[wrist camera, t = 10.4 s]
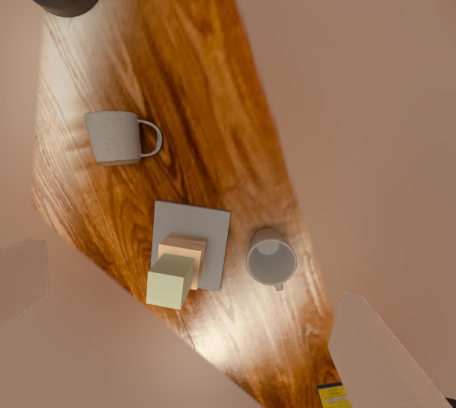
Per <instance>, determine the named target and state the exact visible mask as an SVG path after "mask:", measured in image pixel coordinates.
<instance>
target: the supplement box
mask: <svg viewBox="0 0 456 408" xmlns="http://www.w3.org/2000/svg"><path fill="white" fill-rule="evenodd" d="M317 388H318V392H319V395H320V399H321V402H322V406H323V408H352V406H351V403H350V401H349V398H348V396H347V393H346V391H345V389H344V386H343V384H342V382H338V383H332V384H326V385H320V386H317Z"/></svg>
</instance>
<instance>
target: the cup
mask: <svg viewBox="0 0 456 408" xmlns="http://www.w3.org/2000/svg"><path fill="white" fill-rule="evenodd" d="M246 265H247V269H248V272H249V274H250V275H251V276H252V277H253V278H254V279H255V280H256V281H258V282H259V283H262V284H264V285H271V286H274V287H276V290H277V291H281V290H283V286H282V284H283V283H284V282H286V281H287V280H289V279H290V278H291V277H292V275H293V274H294V272H295V270H296V267H297V258H296V255H295V252H294V250H293V249H292V248H291V247H290V245H289V244H288V243H287V242H286V240H285V239H284V238H283V237H282V236H281V235H280V234H279V233H278V232H277V231H276V230H273V229H270V228H265V229H261V230H259V231H258V232H256V234H255V235H254V236H253V239H252V241H251V244H250V247H249V250H248V254H247V259H246Z"/></svg>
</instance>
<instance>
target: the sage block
mask: <svg viewBox="0 0 456 408" xmlns="http://www.w3.org/2000/svg"><path fill="white" fill-rule="evenodd" d="M193 266H194V258H190V257H184V256H178V255H172V254H166V253H164V254H163V255H162V256H161V258H160V259H159V260H158V261H157V262H156V263H155V264H154V265H153V267H152V268H151V269H150V270H149V271H148V282H147V298H146V303H147V304H152V305H158V306H163V307H169V308H174V309H179V310H181V308H182V305H183V303H184V301H185V299H186V297H187V294H188V292H189V290H190V288H191V284H192V275H193Z"/></svg>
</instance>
